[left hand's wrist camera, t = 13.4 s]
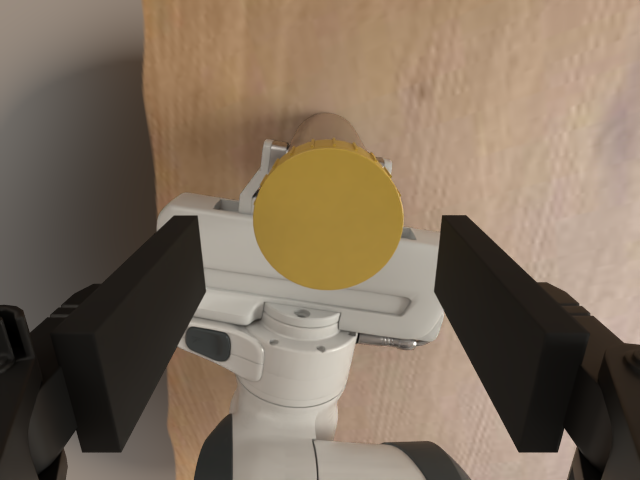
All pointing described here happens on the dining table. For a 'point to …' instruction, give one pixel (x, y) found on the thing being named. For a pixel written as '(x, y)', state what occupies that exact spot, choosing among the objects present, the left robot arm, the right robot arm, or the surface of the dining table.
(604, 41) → the dining table surface
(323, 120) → the jar
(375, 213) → the lid
